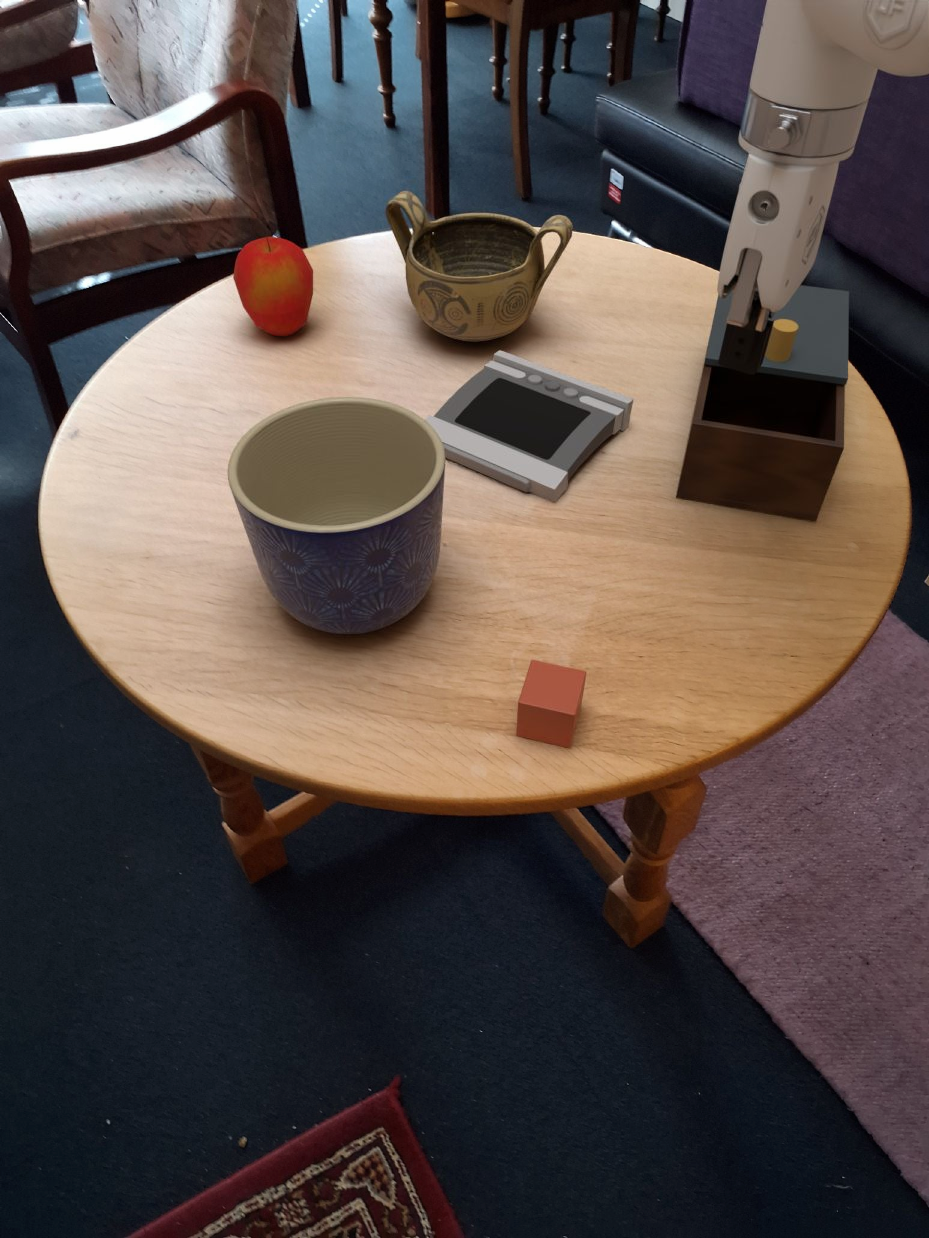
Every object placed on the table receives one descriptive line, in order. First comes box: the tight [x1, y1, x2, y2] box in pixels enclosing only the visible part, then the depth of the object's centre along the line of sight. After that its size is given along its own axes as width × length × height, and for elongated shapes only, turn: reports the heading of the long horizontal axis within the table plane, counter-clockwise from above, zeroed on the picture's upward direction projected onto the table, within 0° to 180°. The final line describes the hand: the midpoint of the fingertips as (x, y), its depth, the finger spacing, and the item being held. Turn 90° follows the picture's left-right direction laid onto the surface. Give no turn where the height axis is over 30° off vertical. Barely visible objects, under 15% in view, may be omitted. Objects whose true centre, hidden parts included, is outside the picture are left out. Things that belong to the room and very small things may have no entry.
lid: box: [703, 284, 850, 386], centre depth 92 cm, size 14×18×4 cm
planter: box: [227, 396, 446, 635], centre depth 76 cm, size 17×17×15 cm
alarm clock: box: [424, 349, 634, 503], centre depth 95 cm, size 17×5×16 cm
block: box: [515, 659, 587, 749], centre depth 70 cm, size 4×4×4 cm
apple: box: [232, 236, 314, 337], centre depth 107 cm, size 9×9×12 cm
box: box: [675, 331, 846, 523], centre depth 91 cm, size 14×18×9 cm
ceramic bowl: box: [385, 190, 574, 343], centre depth 106 cm, size 22×17×15 cm
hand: (739, 365), depth 73 cm, fingers closed
